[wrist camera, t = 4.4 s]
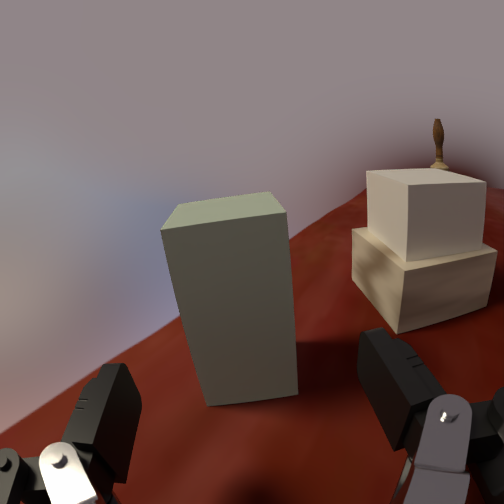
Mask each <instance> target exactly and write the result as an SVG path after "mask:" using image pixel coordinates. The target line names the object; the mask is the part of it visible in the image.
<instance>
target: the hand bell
mask: <svg viewBox="0 0 504 504" xmlns="http://www.w3.org/2000/svg"><path fill="white" fill-rule="evenodd" d="M433 137H434V141H435V145H436V163H435V164H433V165H431V167H430V168H436V169H441V170H445V171H448V172H449V167H448V166H446V165H445V164H444V163H443V151H442V146H443V141H444V130H443V127H442V124H441V121H440V119H435V122H434V126H433Z"/></svg>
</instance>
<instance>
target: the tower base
mask: <svg viewBox="0 0 504 504" xmlns="http://www.w3.org/2000/svg"><path fill="white" fill-rule="evenodd" d="M496 258H497V251H496V250H495V249H493V248H491V247H489V246H487V245H485V244H484V243H482V246H481V249H480V250H474V251H469V252H463V253H457V254H452V255H446V256H440V257H434V258H428V259H422V260H416V261H409V262H405V261H404V260H403V259H401V258H400V257H399V256H398V255H397V254H396V253H394V252H393V251H392V250H391V249H390V248H389V247H387V246H386V245H385V244H384V243H383V242H381V241H380V240H379V239H378V238H377V237H375V236H374V235H373V234H372V233H370V232H369V231H368V227H365V228H357V229H352V280H353V281H354V282H355V283H356V285H357V286H358V287H359V288H360V289H361V291H362V292H363V293H364V294H365V295H366V297H367V298H368V299H369V300H370V302H371V303H372V304H373V305H374V306H375V308H376V309H377V310H378V311H379V313H380V314H381V315H382V316H383V318H384V319H385V320H386V321H387V323H388V324H389V325H390V326H391V328H392V329H393V330H394V331H395V333H396V334H400V333H403V332H407V331H411V330H414V329H418V328H421V327H425V326H428V325H431V324H435V323H438V322H441V321H445V320H448V319H451V318H454V317H457V316H460V315H463V314H466V313H469V312H472V311H475V310H478V309H480V308H483V307H486V306H487V302H488V298H489V293H490V289H491V284H492V279H493V274H494V269H495V263H496Z"/></svg>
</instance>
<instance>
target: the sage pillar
mask: <svg viewBox="0 0 504 504" xmlns="http://www.w3.org/2000/svg"><path fill="white" fill-rule="evenodd" d="M160 231H161V235H162V240H163V245H164V250H165V254H166V258H167V263H168V267H169V271H170V276H171V280H172V284H173V288H174V293H175V297H176V301H177V304H178V309H179V312H180V316H181V320H182V324H183V327H184V331H185V335H186V338H187V342H188V345H189V349H190V352H191V356H192V359H193V363H194V366H195V369H196V373H197V376H198V379H199V382H200V386H201V389H202V392H203V395H204V398H205V401H206V404H207V406H215V405H226V404H235V403H244V402H252V401H260V400H267V399H273V398H280V397H286V396H292V395H297V394H298V379H297V357H296V338H295V320H294V304H293V289H292V275H291V261H290V249H289V236H288V225H287V214H286V211H285V210H284V209H283V208H282V206H281V205H280V204H279V202H278V201H277V200H276V199H275V197H274V196H273V195H272V194H271V193H270V192H261V193H253V194H246V195H238V196H232V197H224V198H217V199H210V200H203V201H196V202H190V203H184V204H178V206H177V207H176V208H175V210H174V211H173V213H172V214H171V215H170V217H169V218H168V220H167V221H166V222H165V224H164V225H163V227H162V228H161V230H160Z"/></svg>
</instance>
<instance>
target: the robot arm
mask: <svg viewBox="0 0 504 504" xmlns="http://www.w3.org/2000/svg"><path fill="white" fill-rule="evenodd" d="M357 373H358V378H359V381H360V383H361V385H362V387H363V389H364V391H365V393H366V395H367V397H368V399H369V401H370V403H371V405H372V407H373V409H374V411H375V413H376V415H377V417H378V420H379V422H380V424H381V426H382V428H383V430H384V432H385V434H386V436H387V438H388V440H389V442H390V445H391V447H392V449H393V451H397V450H400V449H403V448H405V449H406V451H407V453H408V455H407V457H406V460H405V463H404V466H403V469H402V472H401V475H400V478H399V480H398V483H397V486H396V488H395V491H394V494H393V496H392V499H391V501H390V503H389V504H465V500H466V496H467V491H468V486H469V481H470V474H469V472H466V471H465V465H466V464H467V465H468V467H469V469H470V471H471V473H472V476H473V478H474V480H475V482H476V484H477V486H478V488H479V490H480V492H481V494H482V496H483V499H484V501H485V503H486V504H504V387H502V388H500V389H499V390H497V392H496V393H495V395H494V397H493V399H492V400H489V401H483V402H477V403H468V402H467V401H466V400H465V399H463V398H462V397H460V396H457V395H452V394H447V393H446V392H445V391H444V389H443V388H442V387H441V385H440V384H439V383H438V381H437V380H436V379H435V377H434V376H433V375H432V373H431V372H430V371H429V369H428V368H427V367H426V365H424V363H423V361H422V360H421V359H420V357H418V355H417V354H416V352H415V351H414V350H413V348H412V347H411V346H410V345H409V344H407V343H406V342H404V341H402V340H401V339H399V338H397V339H393V340H392V338H391V337H390V336H389V334H388V333H387V332H386V330H385V329H384V328H382V327H381V328H377V329H373V330H368V331H364V332H361V334H360V339H359V350H358V360H357ZM141 409H142V401H141V396H140V393H139V391H138V389H137V387H136V385H135V383H134V381H133V378H132V376H131V374H130V372H129V370H128V367H127V366H126V364H124V363H112V364H103V365H102V367H101V369H100V372H99V374H98V376H97V378H92V379H91V380H90V381H89V382H88V383H87V384H86V385H85V387H84V388H83V390H82V392H81V394H80V397H79V401H77V403H76V406H75V410H73V413H72V415H71V417H70V420H69V422H68V425H67V427H66V430H65V432H64V435H63V437H62V440H61V442H57V443H53V444H51V445H49V446H48V447H46V448H45V449H44V450H43V452H42V453H41V455H40V456H39V457H31V458H21V457H20V456H19V455H18V454H17V453H16V452H15V451H14V450H13V449H10V448H4V449H1V450H0V504H20V501H22V502H23V503H24V504H121V502H120V501H119V499H118V498H117V496H116V494H115V493H114V491H113V490H112V489H113V484H114V483H123V484H126V480H127V475H128V470H129V465H130V460H131V455H132V450H133V445H134V441H135V436H136V432H137V427H138V423H139V418H140V414H141Z"/></svg>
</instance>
